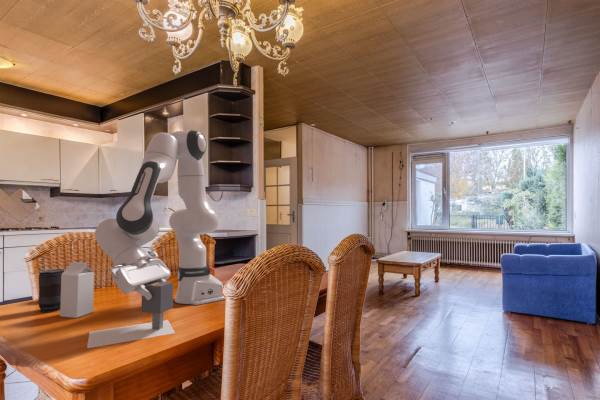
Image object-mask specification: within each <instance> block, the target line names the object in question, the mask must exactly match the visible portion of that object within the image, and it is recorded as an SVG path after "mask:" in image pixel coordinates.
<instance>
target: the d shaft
mask: <svg viewBox="0 0 600 400" xmlns="http://www.w3.org/2000/svg"><path fill="white" fill-rule="evenodd" d="M151 314H152V315H151V317H152V318H151V320H152V321H151V322H152V329H159V330H160V329H162V328H163V321H164V312H163V313H161V314H159V313H151Z"/></svg>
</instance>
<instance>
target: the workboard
mask: <svg viewBox="0 0 600 400" xmlns="http://www.w3.org/2000/svg"><path fill="white" fill-rule="evenodd" d="M171 334H172V335H174V334H176V332H175V330H174V329H173V327H172V324H171V323H170V320H168V319H165V320H164V319H163V328H162V329H160V330H159V329H152V321H151V322H146V323H139V324H138V323H137V324H134V325H133V324H131V325H126V326H120V327H112V328H105V329H98V330H93V331H89V333H88V340H87V344H86V349H92V348H97V347H103V346H109V345H114V344H120V343H121V344H122V343H125V342H126V343H127V342H132V341H137V340H143V339H150V338H155V337H160V336H166V335H171Z"/></svg>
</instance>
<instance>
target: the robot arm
mask: <svg viewBox="0 0 600 400" xmlns="http://www.w3.org/2000/svg"><path fill="white" fill-rule="evenodd" d="M206 149H207V140H206V138H205V135H204V134H203V133H202V132H201V131H199V130H192V129H191V130H176V131H172V132H157V133H156V134H154V135H153V136H152V138H151V139H150V142H149V143H148V145H147V148H146V150H145V152H144V156H143V158H142V162H141V166H140V168H139V171H138V173H137V175H136V178H135V180H134V182H133V185H132V188H131V190H130V193H129V195H128V197H127V199H126V200H125V201H124V202H123V203H122V204H121V205H120V207H119V208H118V210H117V211H116V215H115V218H111V217H110V218H106V219H105V220H103V221H102V222H100V223H99V224H98V225H97V226H96V229H95V231H94V238H95V240H96V243H97V244H98V246H99V247H100V248H101V250H102V251H103V253H104V254H105V255H106V256H108V257H109V258H110V259H111V261H112V264H113V265H112V266H111V267H110V269H109V272H110V274H111V275H112V279H113V282H114V283H115V285H116V287H117V288H118V290H119V291H120V292H121V293H123V294H130V293H133V292H137V294H139V295H141V297H142V296H144V297H145V298H146V299H147V300H150V299H152V298H153V297H154V294H153V293H152V291H150V292H149V291H148V290H147V289H145V286H144V285H145V284H148V283H152V282H155V281H160V282H167V280H168V279H169V278H170V277H171V270H170V269H169V268H168V267H167V265H166V264H165V263H164V261H162V260H161V259H160V258H159V255H158V254H157V252H155V251H151V250H146V249H144V248H141V247H142V246H144V245H145V244H148V243H149V242H152V241H153V240H154V239H155V238H156V237H157V236H158V234H159V232H160V224H159V222H158V219H156V217H155V215H154V213H153V210H152V204H151V203H152V200H153V196H154V194H155V190H156V187H157V186H158V185H157V184H164V183H166V182H169V180H171V179H172V177H173V175H174V173H175V170H176V169H177V171H176V174H177V175H176V176H177V192H178V193H177V194H178V196H179V197H180V199H182V201H183V203H184V205H185V208H181V209H178V210H176V211H174V212H172V213H171V214H170V217H169V219H168V222H169V226H170V228H171V229H172V231H173V233H174V235H175V237H176V241H177V245H178V252H179V253H178V256H179V257H178V258H179V262H178V265H179V266H178V268H177V280H178V284H177V290H176V294H175V299H174V302H175V303H176V304H184V305H185V304H186V305H194V306H198V305H204V304H208V303H213V302H219V301H224V300H226V299H225V297H224V296H223V294H222V289H223V287H224V285H223V282H222V281H221V280H220V279H218V278H217V277H215V276H214V275H213V274H211V273H214V271H215V268H214V267H212V266H209V265H207V246H205V244H204V243H203V241H202V240H201V236H200V235H209V234H211V233H213V232H215V231H216V230H217V229H218V226H219V222H220V220H219V215H218V214H217V212H215V211H214V209H213V208H212V207H211V205H210V202H209V199H208V197H207V193H206V182H205V180H206V179H205V168H204V163H203V159H202V158H203V157H204V155H205V153H206ZM176 165H177V168H176Z"/></svg>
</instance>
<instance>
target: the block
mask: <svg viewBox="0 0 600 400" xmlns="http://www.w3.org/2000/svg"><path fill="white" fill-rule="evenodd" d="M144 286H145V289H147V290H148V291H149V292H150V291H152V293H153V294H154V297H153V298H152V299H150V300H147V299H146V298H145V297H144V296H142V295H141V309H140V310H141V312H140V313H145V314H146V313H148V314H152V313H159V314H161V313H163V314H164V313H165V312H167V311H169V310H171V309H173V308H174V282H173V281H166V282H160V281H155V282H152V283H148V284H145V285H144Z"/></svg>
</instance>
